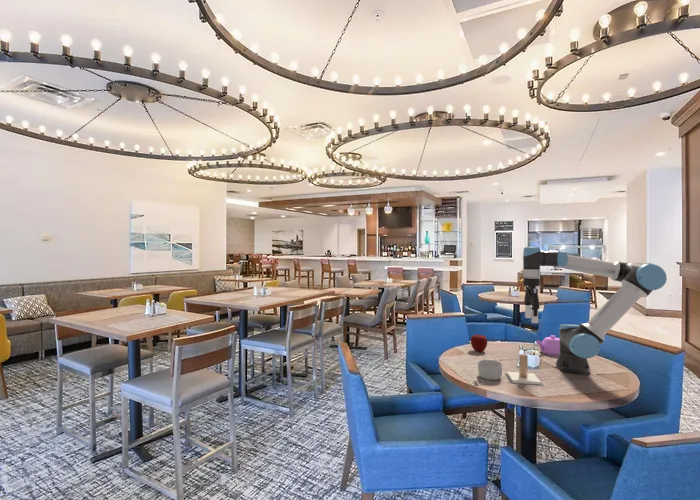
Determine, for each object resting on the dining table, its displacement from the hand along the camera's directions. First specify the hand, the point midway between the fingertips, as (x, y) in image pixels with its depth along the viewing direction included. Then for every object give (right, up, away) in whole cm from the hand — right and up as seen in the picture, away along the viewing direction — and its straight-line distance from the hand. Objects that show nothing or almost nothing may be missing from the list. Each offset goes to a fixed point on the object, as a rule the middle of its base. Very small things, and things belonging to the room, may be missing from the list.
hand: (531, 320), depth 184 cm
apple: (-12, -27, +42) cm, 51 cm away
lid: (-9, -25, -11) cm, 29 cm away
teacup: (-24, -27, -7) cm, 36 cm away
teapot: (+31, -27, +37) cm, 55 cm away
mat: (-9, -26, -11) cm, 30 cm away
